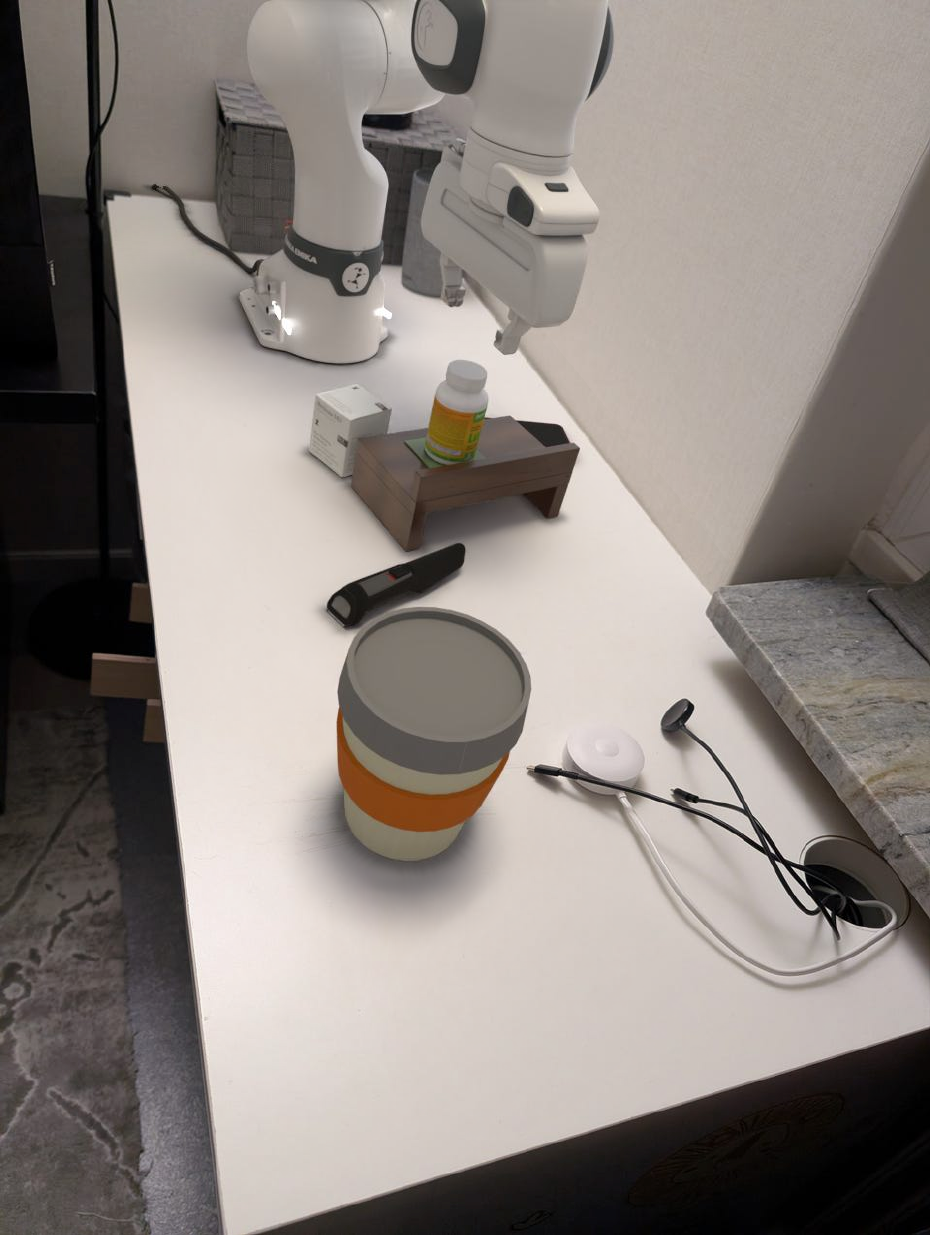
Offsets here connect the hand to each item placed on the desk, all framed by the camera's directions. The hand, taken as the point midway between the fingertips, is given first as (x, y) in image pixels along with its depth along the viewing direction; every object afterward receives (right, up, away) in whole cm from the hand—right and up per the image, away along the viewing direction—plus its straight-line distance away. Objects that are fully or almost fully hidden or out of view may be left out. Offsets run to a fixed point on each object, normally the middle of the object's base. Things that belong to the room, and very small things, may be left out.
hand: (476, 326), depth 85 cm
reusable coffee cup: (-6, -42, -18) cm, 46 cm away
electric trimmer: (-8, -25, 0) cm, 27 cm away
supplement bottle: (-3, -11, +9) cm, 14 cm away
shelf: (-2, -15, +14) cm, 20 cm away
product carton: (-15, -10, +16) cm, 24 cm away
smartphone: (+5, -6, +26) cm, 27 cm away
